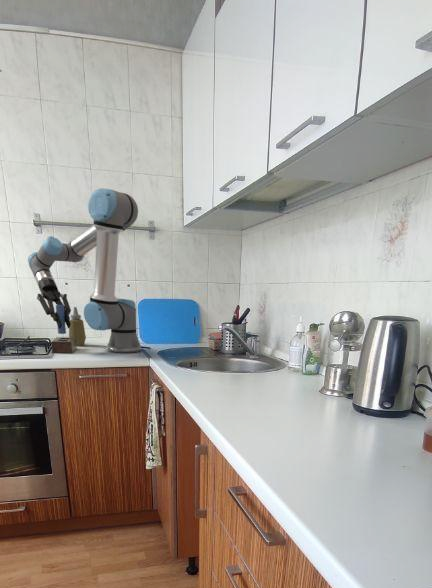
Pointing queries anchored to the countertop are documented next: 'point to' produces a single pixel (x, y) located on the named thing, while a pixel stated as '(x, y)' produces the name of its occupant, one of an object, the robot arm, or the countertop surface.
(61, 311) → the peg
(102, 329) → the robot arm
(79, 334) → the squeeze bottle
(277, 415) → the countertop surface
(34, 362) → the countertop surface
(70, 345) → the peg stand
